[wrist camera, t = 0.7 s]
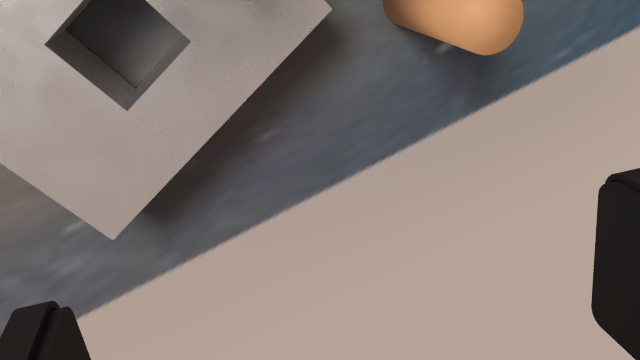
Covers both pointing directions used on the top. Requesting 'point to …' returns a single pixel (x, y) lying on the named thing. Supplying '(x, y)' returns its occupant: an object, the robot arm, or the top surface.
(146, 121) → the hole block
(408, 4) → the peg
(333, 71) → the top surface
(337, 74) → the top surface
